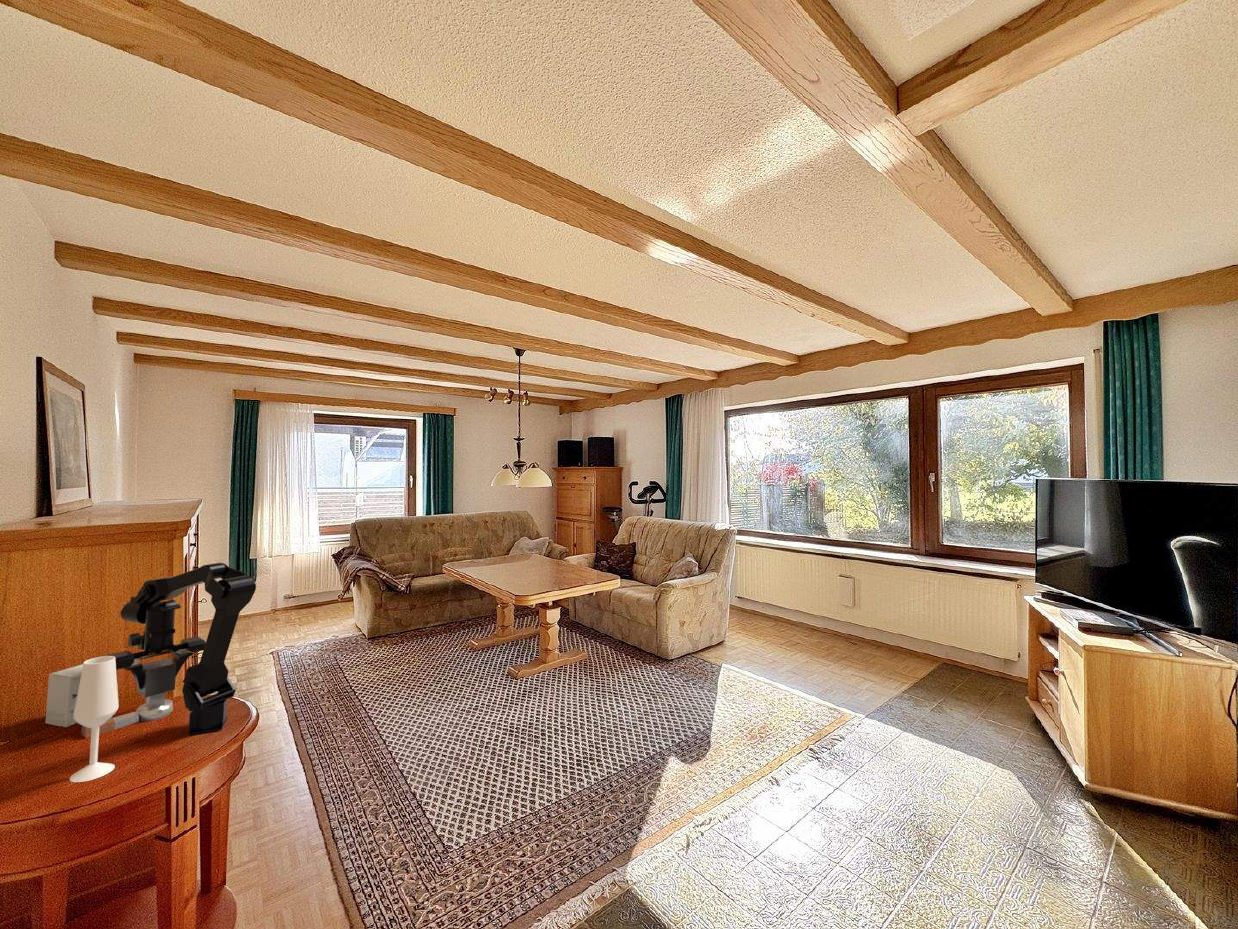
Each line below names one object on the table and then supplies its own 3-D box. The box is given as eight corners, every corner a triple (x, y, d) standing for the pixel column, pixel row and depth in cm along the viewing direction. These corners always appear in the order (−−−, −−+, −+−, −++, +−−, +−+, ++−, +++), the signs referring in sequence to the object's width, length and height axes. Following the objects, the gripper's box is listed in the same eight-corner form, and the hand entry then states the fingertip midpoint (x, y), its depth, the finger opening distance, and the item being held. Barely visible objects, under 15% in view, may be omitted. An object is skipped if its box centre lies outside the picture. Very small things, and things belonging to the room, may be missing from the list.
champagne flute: (113, 759, 111) (119, 652, 111) (116, 772, 106) (123, 660, 107) (68, 773, 105) (75, 659, 106) (70, 786, 101) (77, 668, 102)
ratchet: (79, 731, 121) (81, 705, 121) (167, 706, 135) (168, 682, 135) (87, 740, 118) (89, 713, 118) (176, 713, 132) (177, 689, 132)
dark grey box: (166, 683, 135) (168, 658, 135) (174, 689, 132) (176, 663, 132) (137, 691, 130) (138, 664, 130) (144, 697, 126) (146, 670, 127)
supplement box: (66, 728, 123) (69, 677, 123) (44, 724, 124) (47, 673, 124) (102, 714, 130) (105, 666, 130) (81, 710, 131) (84, 662, 132)
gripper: (192, 612, 143) (189, 666, 143) (101, 628, 127) (97, 689, 127) (208, 619, 137) (204, 676, 137) (114, 637, 121) (110, 701, 121)
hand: (156, 684), depth 131 cm, fingers closed on dark grey box, 6 cm apart
